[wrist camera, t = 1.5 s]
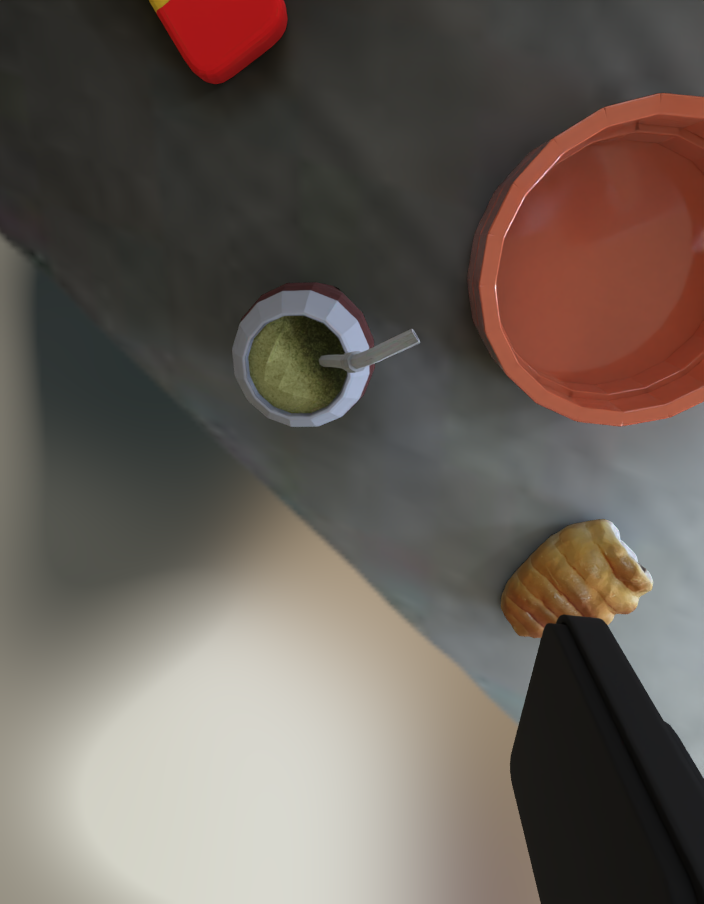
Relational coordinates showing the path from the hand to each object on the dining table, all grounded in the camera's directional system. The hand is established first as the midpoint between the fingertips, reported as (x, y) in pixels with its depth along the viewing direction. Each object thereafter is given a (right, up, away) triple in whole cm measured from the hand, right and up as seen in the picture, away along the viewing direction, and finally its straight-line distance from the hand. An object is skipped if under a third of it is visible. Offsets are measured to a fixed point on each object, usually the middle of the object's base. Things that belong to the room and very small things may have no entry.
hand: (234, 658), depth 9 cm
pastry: (+17, -5, +29) cm, 34 cm away
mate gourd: (0, +10, +24) cm, 26 cm away
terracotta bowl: (+16, +13, +22) cm, 30 cm away
